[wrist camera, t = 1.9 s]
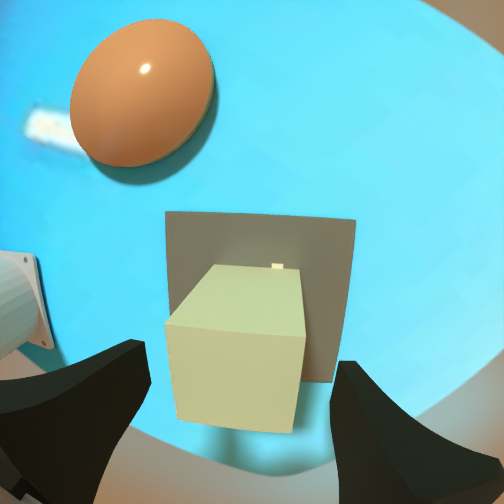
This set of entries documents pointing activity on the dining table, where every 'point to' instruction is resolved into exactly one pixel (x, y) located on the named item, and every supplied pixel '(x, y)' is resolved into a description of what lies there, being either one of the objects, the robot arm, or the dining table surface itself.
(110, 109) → the orange disc
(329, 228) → the brown tile
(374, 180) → the dining table surface
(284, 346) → the block
